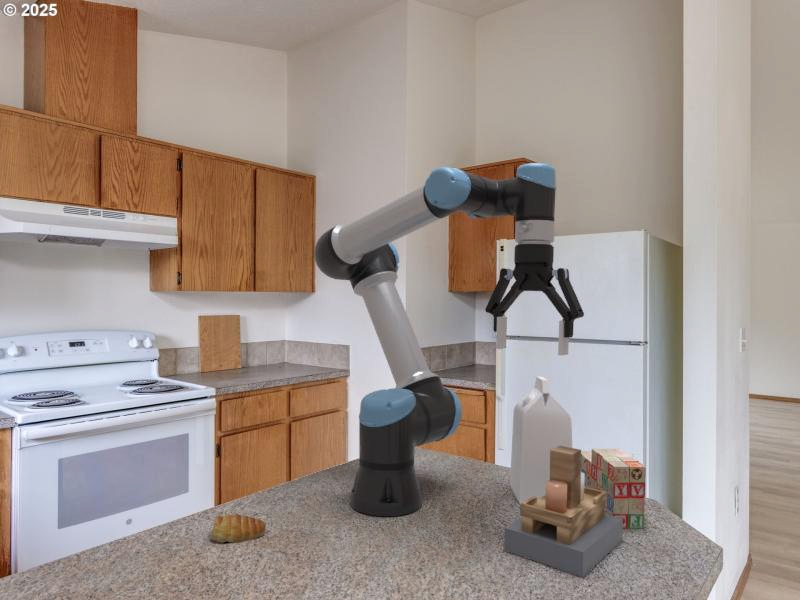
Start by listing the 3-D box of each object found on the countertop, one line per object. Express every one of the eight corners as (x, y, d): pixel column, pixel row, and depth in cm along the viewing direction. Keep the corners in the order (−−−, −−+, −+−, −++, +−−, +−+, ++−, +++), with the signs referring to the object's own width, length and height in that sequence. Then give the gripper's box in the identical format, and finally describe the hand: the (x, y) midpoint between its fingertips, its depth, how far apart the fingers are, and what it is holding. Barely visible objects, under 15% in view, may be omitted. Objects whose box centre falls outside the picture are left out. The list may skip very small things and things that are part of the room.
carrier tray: (570, 545, 91) (571, 465, 91) (519, 529, 97) (521, 454, 97) (606, 516, 103) (607, 445, 103) (559, 504, 109) (561, 437, 109)
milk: (574, 505, 120) (576, 382, 120) (519, 504, 120) (521, 382, 120) (559, 486, 132) (561, 374, 132) (509, 485, 132) (511, 374, 132)
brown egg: (541, 509, 97) (541, 483, 97) (553, 504, 100) (553, 478, 100) (559, 515, 95) (559, 488, 95) (571, 510, 97) (571, 484, 97)
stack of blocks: (576, 490, 129) (577, 437, 129) (603, 491, 129) (604, 437, 129) (612, 529, 108) (613, 465, 108) (645, 530, 108) (646, 465, 108)
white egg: (560, 498, 103) (560, 473, 103) (568, 492, 106) (568, 468, 106) (579, 502, 101) (580, 477, 100) (587, 497, 103) (587, 472, 103)
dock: (504, 550, 98) (504, 527, 98) (550, 520, 112) (550, 499, 112) (582, 577, 89) (583, 552, 89) (622, 540, 103) (622, 518, 103)
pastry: (266, 527, 107) (266, 507, 107) (264, 542, 101) (265, 521, 101) (214, 530, 105) (214, 510, 105) (209, 546, 99) (209, 525, 99)
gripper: (470, 244, 117) (467, 347, 117) (587, 240, 100) (583, 359, 101) (490, 247, 122) (487, 344, 123) (604, 243, 106) (600, 356, 106)
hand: (530, 351), depth 112 cm, fingers open, 13 cm apart
